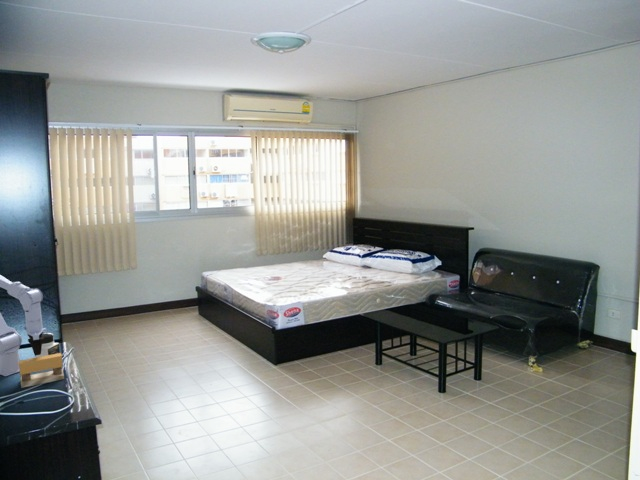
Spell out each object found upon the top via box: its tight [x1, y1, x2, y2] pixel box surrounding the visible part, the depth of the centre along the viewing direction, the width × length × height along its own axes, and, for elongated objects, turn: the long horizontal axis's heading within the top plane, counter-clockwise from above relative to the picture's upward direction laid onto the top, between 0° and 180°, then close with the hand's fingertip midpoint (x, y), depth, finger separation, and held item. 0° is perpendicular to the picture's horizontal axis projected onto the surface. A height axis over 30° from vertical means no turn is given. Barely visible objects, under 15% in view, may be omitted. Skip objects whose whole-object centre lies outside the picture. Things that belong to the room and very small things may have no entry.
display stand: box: [20, 367, 65, 389], centre depth 207 cm, size 15×8×4 cm, turn 120°
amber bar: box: [19, 352, 64, 376], centre depth 206 cm, size 15×4×4 cm, turn 120°
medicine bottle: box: [34, 332, 61, 358], centre depth 227 cm, size 7×7×12 cm
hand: (37, 352), depth 210 cm, fingers open, 7 cm apart
